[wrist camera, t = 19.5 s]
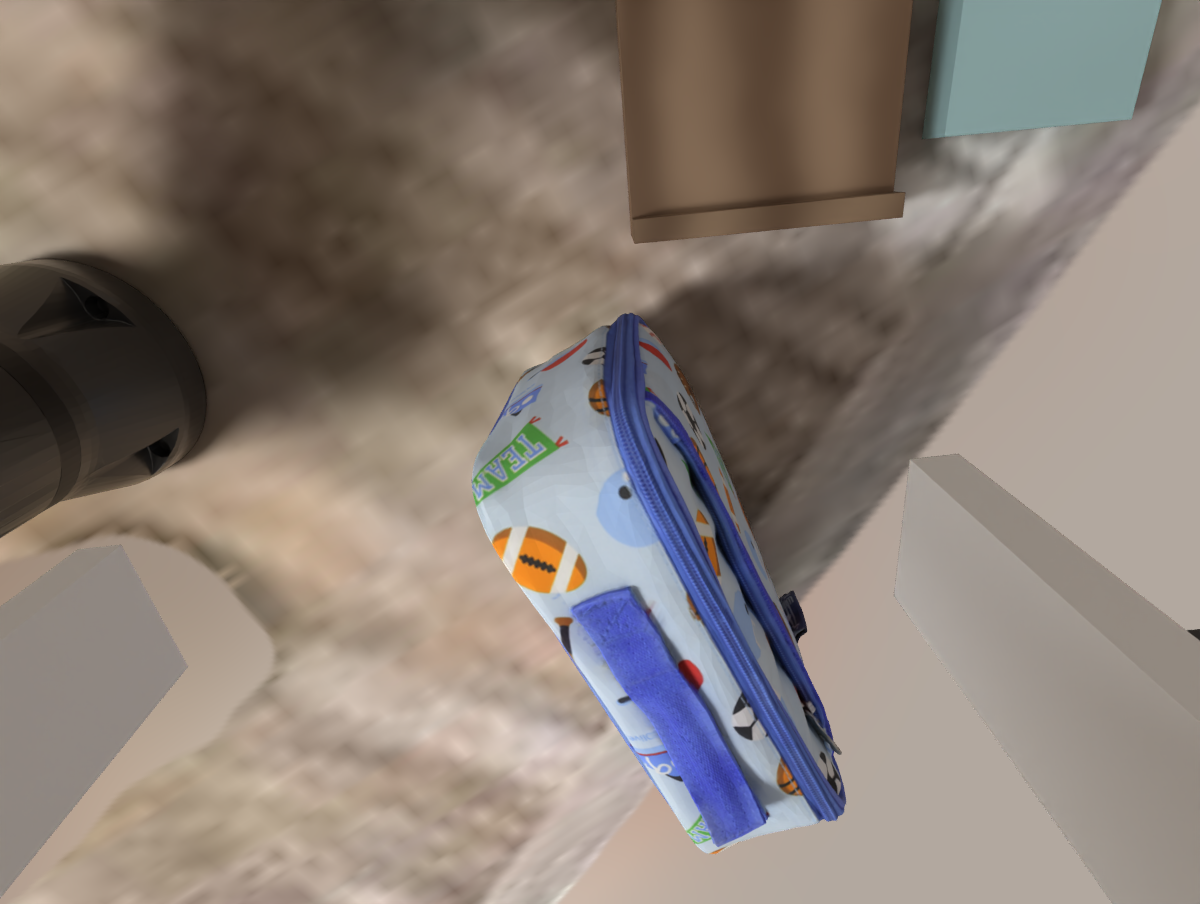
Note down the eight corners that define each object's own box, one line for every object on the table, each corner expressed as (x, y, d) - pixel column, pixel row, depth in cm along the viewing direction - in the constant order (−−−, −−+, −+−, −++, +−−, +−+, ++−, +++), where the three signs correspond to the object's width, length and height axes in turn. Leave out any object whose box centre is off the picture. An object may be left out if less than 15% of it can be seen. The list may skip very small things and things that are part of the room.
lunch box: (796, 593, 48) (931, 894, 28) (678, 639, 50) (725, 950, 30) (641, 281, 38) (679, 403, 18) (501, 357, 40) (396, 542, 20)
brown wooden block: (631, 235, 36) (634, 243, 32) (612, -30, 31) (614, -65, 26) (865, 211, 36) (902, 217, 31) (888, -64, 30) (937, -105, 26)
